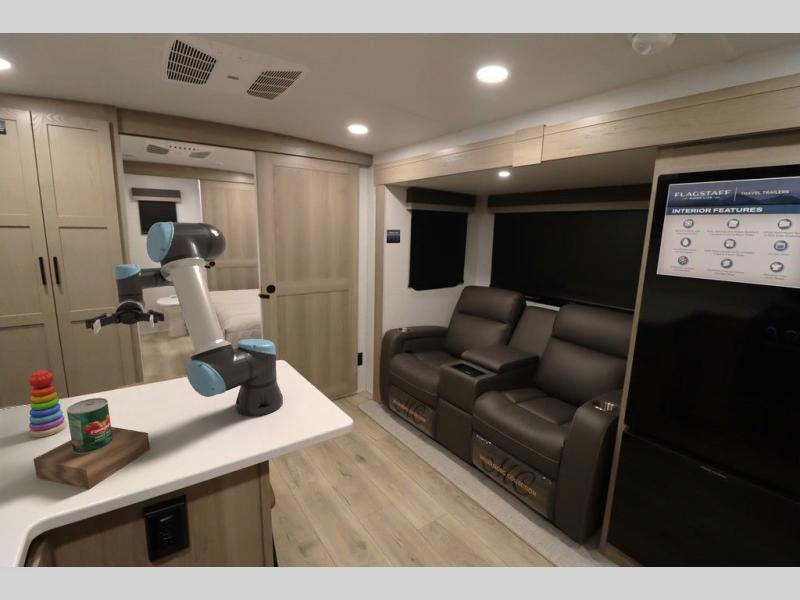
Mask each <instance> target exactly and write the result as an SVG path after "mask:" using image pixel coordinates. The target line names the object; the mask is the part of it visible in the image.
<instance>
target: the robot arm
mask: <svg viewBox="0 0 800 600" xmlns="http://www.w3.org/2000/svg"><path fill="white" fill-rule="evenodd" d="M145 243H146V245H145V246H146V251H147V255H148V257H149V259H150V260H151V261H152V262H154V263H159V264H160V266H161V267H151V268H141V266H140V265H139V264H137V263H130V264H129V263H126V264H118V265H116V266H115V268H114V275H115V276H114V279H115V284H116V285H115V286H116V291H117V299H118V306H117V308H116V311H115V312H113V313H111V314H110V315H109V314H108V313H107V312H104V313H102V314H101V315H97V316H94V317H91V318H88V319H85V320H84V323H85V329H91V330H93V331H94V333H93V334H94V335H97V334H99V332H100V330H102V328H103V327H106V326H109V325H118V324H122V325H128V326H130V325H132V326H133V325H136V324H137V323H140V322H141V323H142V322H149V326H150V329H154V327H155V326H154V325H155V324H158V323H159V322H165V314H164V312H158V311H155V310H153V309H148V310H146V312H144V311H145V308H146V303H145V301H144V291H143V290H145V289H155V288H163V287H173V288H174V292H175V294H176V297H177V300H178V303H179V307H180V310H181V313H182V316H183V319H184V321H185V324H186V328H187V332H188V335H189V337H190V340H191V343H192V346H193V347H192V348H193V351H192V352H191V354H190V355H189V357H190V360H191V361H190V362H189V363H188V364H187V365H186V376H187V379H188V383H189V384H190V386H191V388H193V390H194V391H195V392H196V393H198V394H199V395H200V396H202V397H205V398H210V397H214V396H216V395H222V394H224V393H225V392H228V391H230V390H233V389H235V388H238V387H239V389H238V393H237V397H236V400H235V411H236V412H237V413H238V414H241V416H247V417H257V416H263V415H269V414H272V413H273V412H275V411H277V410H279V409H280V408H281V407H282V406H283V404H284V396H283V394H282V391H281V389H280V387H279V386H280V385H279V383H278V380H277V379H278V377H277V356H276V355H277V352H276V346H275V343H274V342H273V341H272V340H268V339H262V338H245V339H241V340H239V341H238V342H237V344H236V347H237V348H234V347H233V345H232V342H230V341H227V340H226V339H225V337H224V333H223V330H222V327H221V325H220V322H219V319H218V316H217V313H216V310H215V305H214V303H213V301H212V297H211V294H210V290H209V287H208V285H207V281H206V278H205V275H204V272H203V269H202V266H203V265H204V264H205V263H211V262H214V261H215V260H217V259H219V258H220V257H221V256H222V255H224V253H225V251H226V248H227V240H226V237H225V235H224V234H223V232H222V231H221V230H220V229H219V228H217V227H216V226H214V225H212V224H210V223H206V222H181V221H180V222H178V221H177V222H175V221H174V222H172V221H167V222H166V221H165V222H162V221H159V222H155V223H153V225H151V226H150V228H149V230H148V232H147V236H146V242H145Z"/></svg>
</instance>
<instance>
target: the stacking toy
mask: <svg viewBox="0 0 800 600" xmlns="http://www.w3.org/2000/svg"><path fill="white" fill-rule="evenodd" d="M54 378H55V377H54V374H53V373H52V372H50V371H48V370H44V369H42V370H37V371H35V372H33V373H32V374H31V375H30V376H29V378H28V383H29V385H30V386H31V387H32V388H31V390H30V395H31V396H30V401H31V403H30V408H31V409H30V410H29V415H30V416H29V419H28V420H29V422H30V423H29V424H28V427H29V431H28V435H29V436H31V437H33V438H43V437H44V438H45V437H49V436H52V435H55V433H56V434H58V433H60V432H61V431H63V430H64V429H65V428H66V426H67V422H66V421H65V415H63V413H64V412H63V410H62V409H61V407H62V406H61V404H60V399H59V397H58V393H57V392H56V391H55V389H56V387H55V385H53V384H52V383H53V382H54Z"/></svg>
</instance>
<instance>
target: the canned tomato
mask: <svg viewBox="0 0 800 600" xmlns="http://www.w3.org/2000/svg"><path fill="white" fill-rule="evenodd" d="M66 413H67V421H68V428H69V433H70V440H71V441H72V446H73V452H74V453H76V454H89V453H93V452H96V451H99V450H102V449H104V448H106V447H107V446H109V445H110V444H111V443H112V441H113V438H112V430H111V427H112V424H111V417H110V408H109V403H108V399H106V398H103V397H93V398H87V399H84V400H80V401H78V402H75V403H73V404H71V405H69V406H68V407H67V408H66Z"/></svg>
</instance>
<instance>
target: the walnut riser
mask: <svg viewBox="0 0 800 600" xmlns="http://www.w3.org/2000/svg"><path fill="white" fill-rule="evenodd" d="M111 430H112V438H113V441H112V443H111V444H110V445H109V446H107V447H106V448H104V449H102V450H99V451H96V452H93V453H89V454H76V453H74V452H73V446H72V441H71V439H70V440H68V441H65V442H64V443H62V444H61V445H58V446H57V447H54V448H53V449H51V450H49V451H47V452H45V453H43V454H41V455H39V456H37V457H34V458H33V464H34V469H35V474H36V478H37V479H42V480H46V481H50V482H56V483H59V484H63V485H68V486H74V487H79V488H83V489H87V490H91V489H93V488H94V487H96V486H97V485H98V484H100V483H102V482H103V481H104V480H107V479H108V478H109V477H111V476H112V475H114V474H115V473H117V472H118V471H119V470H121V469H122V468H124V467H127V465H128V464H130V463H132V462H133V461H135V460H136V459H138V458H140V457H141V456H143V455H144V454H146V453H147V452H149V451H150V449H151V447H150V437H149V433H148V432H145V431H144V432H143V431H138V430H133V429H127V428H123V427H122V428H121V427H116V426H111Z"/></svg>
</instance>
